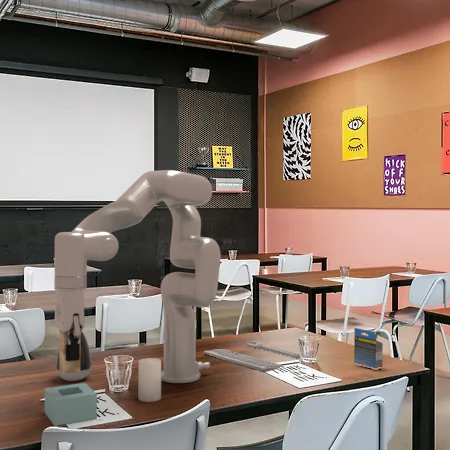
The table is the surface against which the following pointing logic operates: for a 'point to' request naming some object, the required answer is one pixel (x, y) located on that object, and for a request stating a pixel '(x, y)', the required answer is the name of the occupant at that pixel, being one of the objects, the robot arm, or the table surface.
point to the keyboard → (243, 360)
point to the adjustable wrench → (272, 349)
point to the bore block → (70, 404)
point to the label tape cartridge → (367, 349)
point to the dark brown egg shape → (84, 362)
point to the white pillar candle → (149, 380)
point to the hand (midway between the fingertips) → (70, 357)
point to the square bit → (63, 364)
